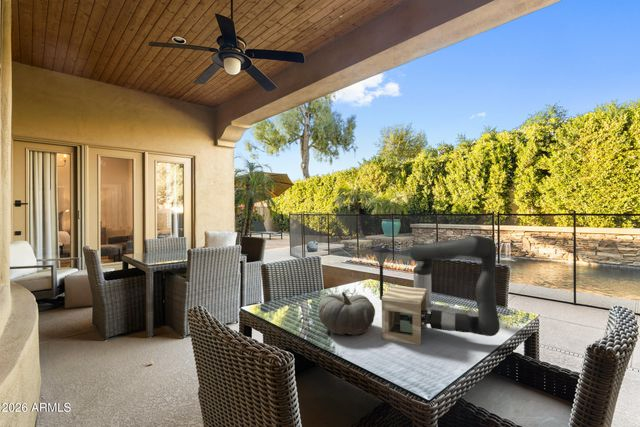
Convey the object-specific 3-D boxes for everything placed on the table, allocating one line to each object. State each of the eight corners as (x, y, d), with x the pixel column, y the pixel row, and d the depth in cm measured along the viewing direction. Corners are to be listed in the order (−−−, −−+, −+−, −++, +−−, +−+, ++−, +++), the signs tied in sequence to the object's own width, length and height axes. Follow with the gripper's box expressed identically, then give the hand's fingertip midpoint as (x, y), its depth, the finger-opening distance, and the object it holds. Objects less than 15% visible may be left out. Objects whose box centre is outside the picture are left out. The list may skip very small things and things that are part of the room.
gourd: (308, 317, 149) (315, 281, 148) (355, 319, 158) (362, 285, 157) (327, 344, 126) (335, 302, 124) (381, 344, 134) (389, 305, 133)
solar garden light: (369, 301, 181) (369, 249, 181) (372, 295, 193) (371, 246, 192) (391, 303, 178) (391, 249, 177) (393, 297, 189) (392, 246, 189)
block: (402, 327, 139) (402, 304, 139) (414, 328, 137) (414, 305, 137) (400, 331, 135) (400, 307, 135) (412, 332, 133) (412, 309, 132)
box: (392, 322, 149) (392, 285, 148) (426, 326, 142) (426, 288, 142) (382, 338, 130) (381, 297, 130) (420, 345, 124) (420, 301, 124)
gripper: (444, 306, 136) (403, 301, 143) (441, 316, 123) (397, 311, 130) (444, 323, 136) (404, 318, 144) (441, 336, 123) (397, 329, 131)
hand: (401, 315), depth 137 cm, fingers closed on block, 5 cm apart
